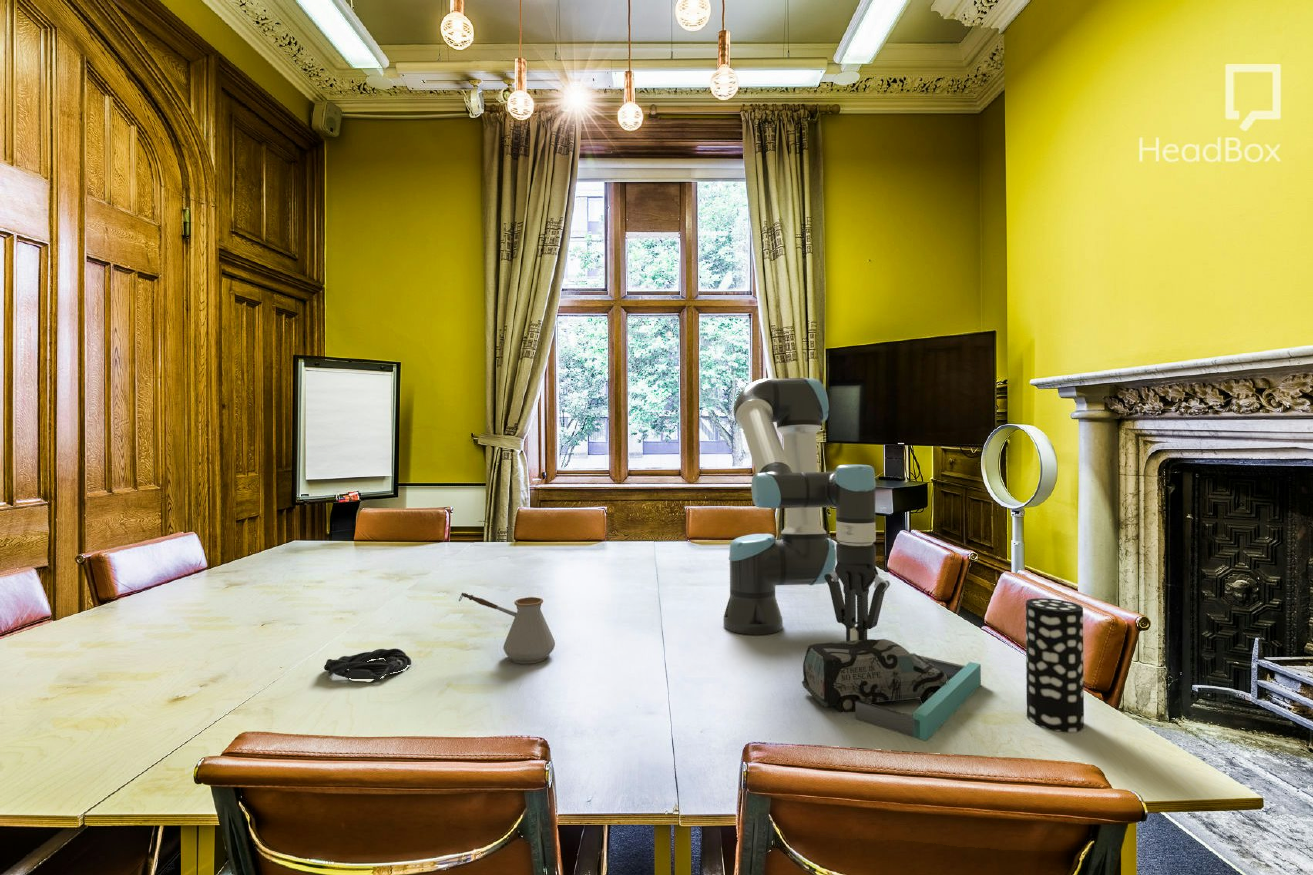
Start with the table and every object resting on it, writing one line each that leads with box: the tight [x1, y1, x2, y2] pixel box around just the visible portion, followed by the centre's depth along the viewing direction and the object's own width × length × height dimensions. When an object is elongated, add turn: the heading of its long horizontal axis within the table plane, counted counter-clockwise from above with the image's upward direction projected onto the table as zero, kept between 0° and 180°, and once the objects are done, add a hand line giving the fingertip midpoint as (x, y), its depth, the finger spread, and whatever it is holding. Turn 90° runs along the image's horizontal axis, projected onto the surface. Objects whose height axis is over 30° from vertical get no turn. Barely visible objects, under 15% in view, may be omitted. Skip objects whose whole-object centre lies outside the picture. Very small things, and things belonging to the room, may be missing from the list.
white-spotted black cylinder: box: [1025, 597, 1085, 733], centre depth 108 cm, size 8×8×20 cm
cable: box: [323, 648, 412, 680], centre depth 135 cm, size 17×14×4 cm
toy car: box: [801, 638, 948, 713], centre depth 118 cm, size 11×25×10 cm, turn 100°
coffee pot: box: [458, 592, 556, 665], centre depth 142 cm, size 21×12×15 cm, turn 91°
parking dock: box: [855, 654, 982, 741], centre depth 117 cm, size 12×30×4 cm, turn 138°
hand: (856, 660), depth 125 cm, fingers closed
